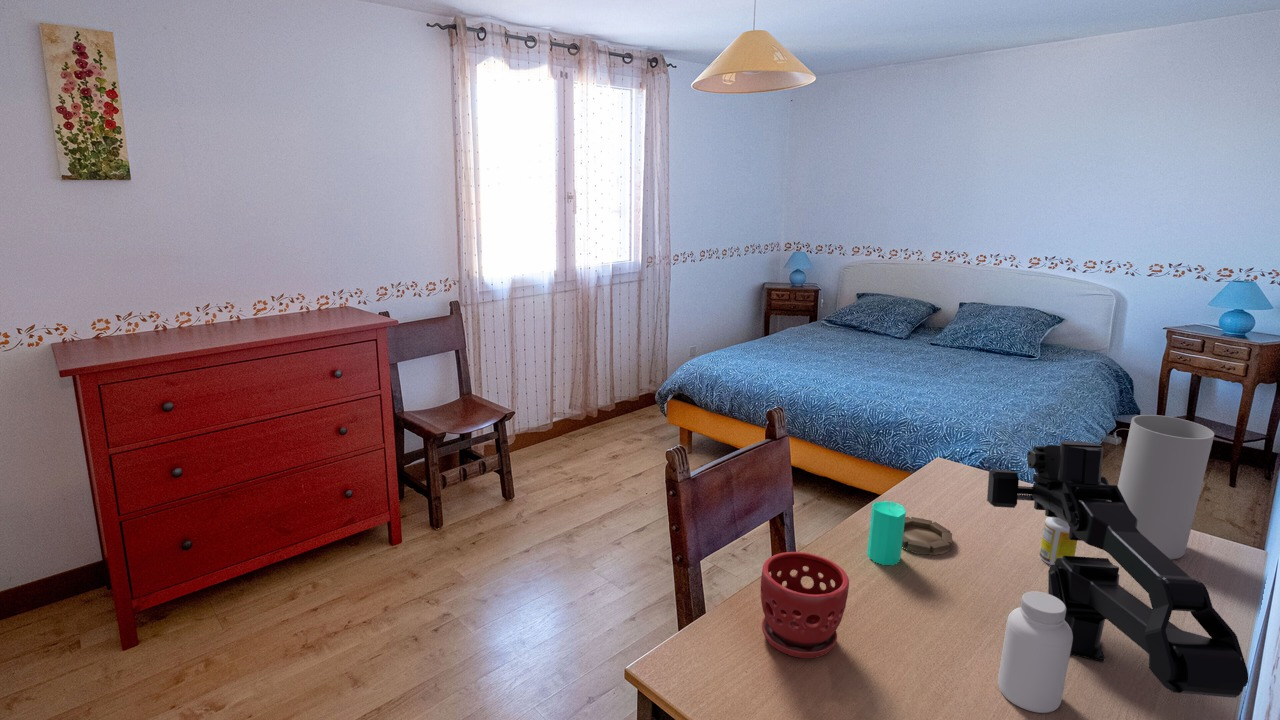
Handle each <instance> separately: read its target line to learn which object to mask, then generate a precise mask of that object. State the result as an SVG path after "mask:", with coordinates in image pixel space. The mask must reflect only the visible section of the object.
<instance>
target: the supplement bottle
mask: <svg viewBox="0 0 1280 720" xmlns="http://www.w3.org/2000/svg"><path fill="white" fill-rule="evenodd" d="M1069 530H1070V527H1069V525H1068V523H1067V522H1065V521H1064V520H1062V519H1060V518H1059V517H1046V519H1045V521H1044V527H1043V532H1042V539H1041V542H1040V549H1039V558H1040V559H1041V560H1042V561H1043V562H1044V563H1046V565H1049V566H1051V565H1055V562H1056V559H1057V558H1063V556H1076V550H1077V545H1078V540H1070V539H1069Z"/></svg>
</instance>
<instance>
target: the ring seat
mask: <svg viewBox="0 0 1280 720" xmlns="http://www.w3.org/2000/svg"><path fill="white" fill-rule="evenodd" d="M902 547H903V548H905V549H907V550H909V551H908V552H910V551H913V552H916V553H915V554H917V553H919V554H918V555H923V554H929V555H928V556H938V554H940V555H943V554H947V553H948V552H950V551H951V549H952V548H953V533H952V531H951V530H949V529H948V528H946V527H944V526H943V525H942V524H939V522H936V521H933V520H930V519H925V518H920V517H914V516H911V517H909V516H905V524H904V532H903V541H902ZM905 549H904V550H905ZM907 550H906V551H907ZM913 552H912V553H913Z"/></svg>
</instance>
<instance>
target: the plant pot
mask: <svg viewBox="0 0 1280 720" xmlns="http://www.w3.org/2000/svg"><path fill="white" fill-rule="evenodd" d="M804 567H807V568H808V569H807V570H805V569H804ZM792 571H797V572H796V574H794V575H791V572H792ZM779 572H780V574H779V575H778V573H779ZM819 573H820V574H822V577H820V576H819ZM770 574H771V575H770ZM803 577H809V578H811V580H812V581H813V584H812V585H813V586H812V587H805V586H803V583H802V579H803ZM831 581H833V582H834V586H833V585H832V583H831ZM784 582H786V585H784V586H783V583H784ZM821 583H823V584H824V585H825V589H823V588H821ZM849 586H850V579H849V576H848V574H847V573H846V571H845V570H844V569H843V568H842V567H841V566H840V565H839V564H837V563H836V562H834V561H832V560H831V559H828V558H826V557H823V556H820V555H816V554H813V553H810V552H801V551H787V552H780V553H777V554H774V555H773V556H770V557H768V559H766V560H765V561H764V563H763V565H762V570H761V576H760V600H761V601H760V602H761V608H762V612H763V615H764V617H763V619H762V621H761V631H762V633H763V635H764V637H765V640H767V642H768V643H769V644H770V645H771V646H772V647H773V648H774V649H776V650H778V651H780V652H781V653H783V654H786V655H787V654H788V655H789V656H791V657H796V658H799V659H800V658H802V659H813V658H818V657H821V656H824V655H826V654H828V653H829V652H830V651H831V650H832V649H833V648H835V645H836V643H837V640H838V633H837V630H838V627H839V626H840V625H841V622H842V619H843V616H844V614H845V613H844V612H845V610H846V607H847V600H848V595H849V588H850V587H849Z"/></svg>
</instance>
